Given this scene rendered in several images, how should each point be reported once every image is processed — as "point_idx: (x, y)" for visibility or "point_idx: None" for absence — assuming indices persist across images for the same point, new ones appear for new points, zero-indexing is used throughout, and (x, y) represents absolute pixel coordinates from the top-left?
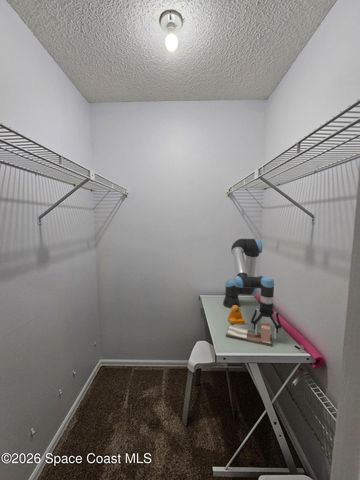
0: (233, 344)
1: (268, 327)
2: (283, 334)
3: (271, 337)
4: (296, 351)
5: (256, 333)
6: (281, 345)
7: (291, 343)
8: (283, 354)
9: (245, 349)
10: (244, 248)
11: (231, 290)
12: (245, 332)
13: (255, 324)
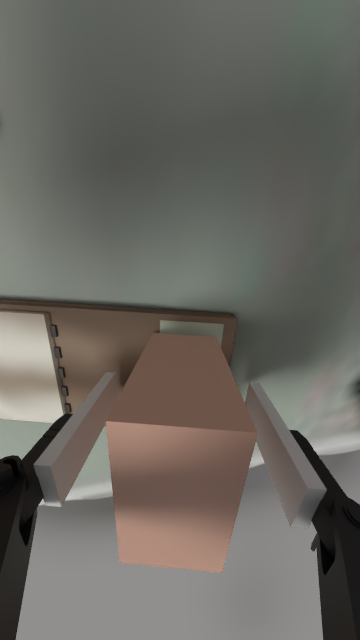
0: (27, 449)
1: (207, 546)
2: (348, 236)
3: (227, 361)
4: (338, 427)
5: (110, 411)
6: (272, 396)
7: (350, 358)
8: (257, 462)
9: (88, 468)
10: None
11: None
12: (39, 362)
13: (35, 515)
